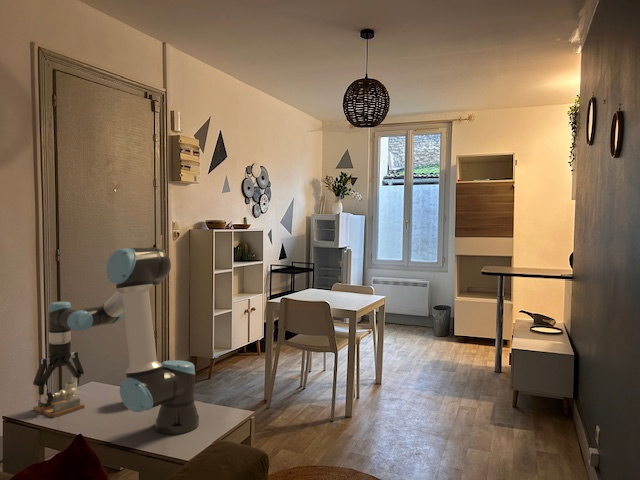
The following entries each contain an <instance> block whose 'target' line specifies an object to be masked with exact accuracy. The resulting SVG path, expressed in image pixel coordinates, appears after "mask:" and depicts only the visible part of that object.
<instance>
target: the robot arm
mask: <svg viewBox="0 0 640 480" xmlns="http://www.w3.org/2000/svg"><path fill="white" fill-rule="evenodd" d="M171 267H172V262H171V258H170V256H169V255H168V253H166V252H165V251H164V250H163V249H161V248H157V247H125V248H119V249H116V250H115V251H113V252H112V253H111V255H110V257H109V258H108V260H107V263H106V269H105V271H106V276H107V279H109V282H110V283H112V284H114V285H115V286H116V289H115V290H116V292H114V294H113V295H112V296H110V298H108V299H107V300H106V301H105V302H104V303H103V304H102V305H100V306H94V307H86V308H80V309H74V308H72V304H71V302H69V301H54V302H51V303H50V304H49V305H48V307H49V308H48V342H49V343H48V357H47V358H43V357H42V358H39V366H38V369H37V372H36V374H35V377H34V380H33V383H32V385H34V386H36V387H38V395H40V396H41V398H40V400H41V403H44V404H45V403H47V392H48V391H47V389H48V388H47V387H48V385H47V384H46V383H47V382H48V381H49V379H50V377H51V375H52V373H53V372H54V371H55V370H56V368H59V367H64V366H65V367H66V368H67V369H68V371H69V372H70V373H71V375H72V376H71V379H70V380H71V381H70V382H75V388H76V393H75V396H76V395H78V385H79V384H80V378H81V376H82V375H84V374H85V372H84V371H85V370H84V368H83V366H82V364H81V362H80V358H79V353H78V352H77V351H72V352H71V347H72V346H71V340H72V339H71V336H72V335H71V332H72V331H74V332H75V331H76V332H84V331H87V330H89V329H90V328H95V327H100V326H106V325H113V324H115V323H116V324H117V323H119V322H120V321H122V317H123V316H124V325H125V332H126V342H127V351H128V359H129V366H128V368H127V369H126V371H125V375H126V378H124V379H123V380H122V382H121V383H120V384H121V385H120V386H119V395H120V399H121V401H122V403H123V404H124V406H125V407H126V408H127V409H128V410H130V411H131V412H133V413H143V412H144V411H150V410H152V409H154V408H156V407H159V410H158V413H157V418H156V419H155V426H154V427H155V431H157V432H158V433H161V434H164V435H165V434H166V435H178V434H184V433H188V432H191V431H194V430H195V429H197V428H198V427H199V426H200V416H199V414H198V410H197V407H196V404H195V397H196V396H195V394H196V393H195V391H196V389H195V387H196V370H195V364H194V363H193V362H190V361H187V360H177V359H175V360H171V359H170V360H165V361H162V362H160V361H158V357H157V350H156V342H155V333H154V327H153V326H154V325H153V323H154V322H153V315H152V307H151V300H150V299H151V298H150V289H151V288H152V287H153V286H154V287H155V286H158V285H160V284H161V283H162V282H164V280H166V278H168V276H169V274H170V272H171V269H172V268H171ZM123 314H124V315H123ZM70 358H71V360H72V361H70ZM72 362H73V364H74V365H72Z"/></svg>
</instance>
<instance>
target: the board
mask: <svg viewBox="0 0 640 480" xmlns="http://www.w3.org/2000/svg"><path fill="white" fill-rule="evenodd" d="M47 401H48V400H47ZM37 402H38V403H37V404H38V405H35V406H33V411H34V412H37V413H40V414H43V415H46V416H49V417H51V418H53V419H54V418H55V419H56V418H59V417H61V416H65V415H67V414H71V413H73V412H77V411H79V410H83V409H85V404H83V403H81V398H79V397H77V398H75V399H74V400H71V401H65V397H63V398H61V397H57V398H54V397H53V399H52V401H51V402H50V403H51V405H50V406H48V407H44V404H42V403H41V399H39V400H38V401H37Z"/></svg>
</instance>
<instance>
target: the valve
mask: <svg viewBox="0 0 640 480" xmlns="http://www.w3.org/2000/svg"><path fill="white" fill-rule="evenodd" d="M64 387H65V389H60V390H59V391H58V392H55V393H53V394H52V392H51V391H49V389H48V388H47V400H48V401H47V403H45V404H44V403H42V404H44V407H48V406H50V405H51V403H50V402H51V401H52V399H53V397H54V398H57V397H61V398H63V397H65V401H71V400H74V399H76V395H75V393H76V388H75V382H71V381H68V382H65V386H64ZM39 398H40V399H41V395H40V396H39Z"/></svg>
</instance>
